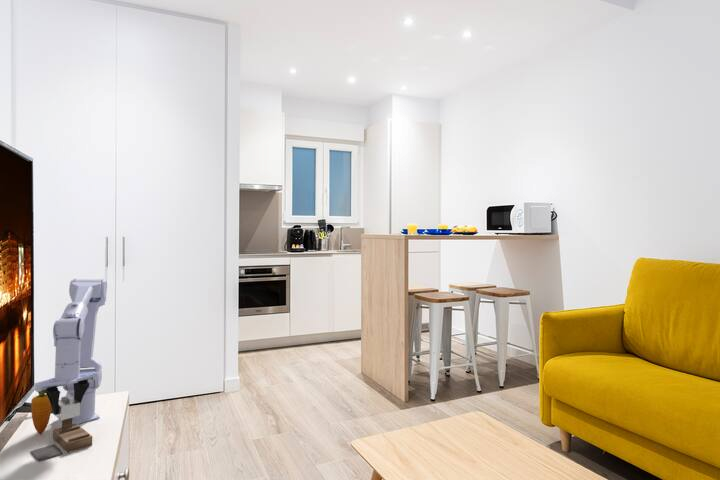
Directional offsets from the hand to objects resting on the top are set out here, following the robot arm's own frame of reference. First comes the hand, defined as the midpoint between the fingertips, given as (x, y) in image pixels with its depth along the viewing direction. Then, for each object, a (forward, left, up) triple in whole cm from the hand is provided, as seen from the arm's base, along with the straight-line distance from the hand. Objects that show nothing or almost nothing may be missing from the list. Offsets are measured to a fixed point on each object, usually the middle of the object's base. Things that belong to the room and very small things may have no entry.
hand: (66, 411), depth 123 cm
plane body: (-2, +2, -10) cm, 10 cm away
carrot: (-13, -2, -10) cm, 17 cm away
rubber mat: (+1, -4, -10) cm, 11 cm away
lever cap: (0, 0, -1) cm, 1 cm away
